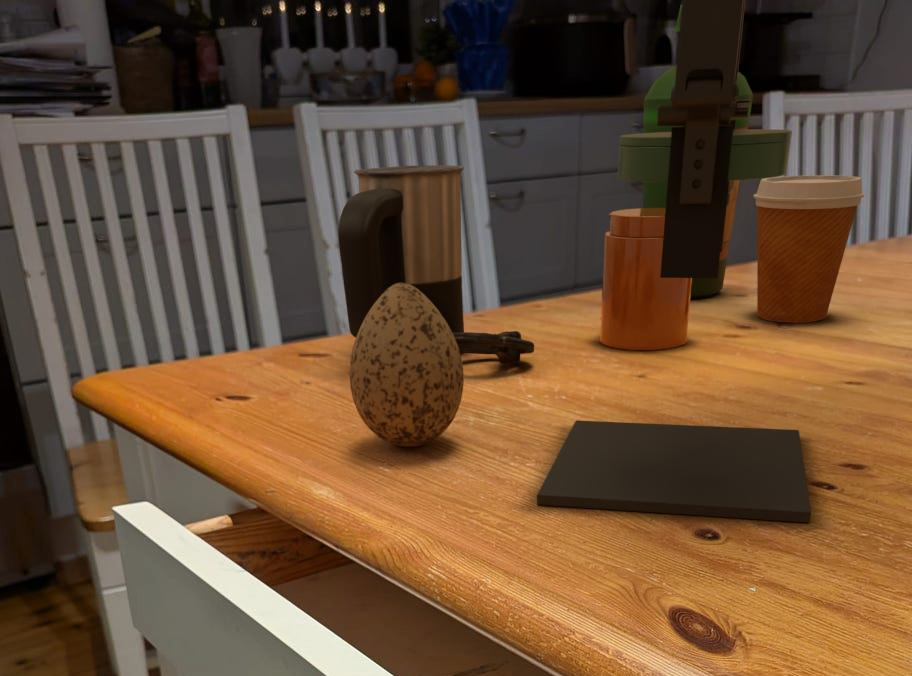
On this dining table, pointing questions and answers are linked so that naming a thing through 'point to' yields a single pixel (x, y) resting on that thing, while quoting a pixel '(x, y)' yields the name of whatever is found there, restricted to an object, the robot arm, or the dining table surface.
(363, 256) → the milk frother
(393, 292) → the decorative egg
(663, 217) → the jam jar
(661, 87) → the bottle
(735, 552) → the dining table surface
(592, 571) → the dining table surface
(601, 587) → the dining table surface
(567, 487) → the mat
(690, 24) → the robot arm
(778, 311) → the disposable coffee cup
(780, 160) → the jar lid
